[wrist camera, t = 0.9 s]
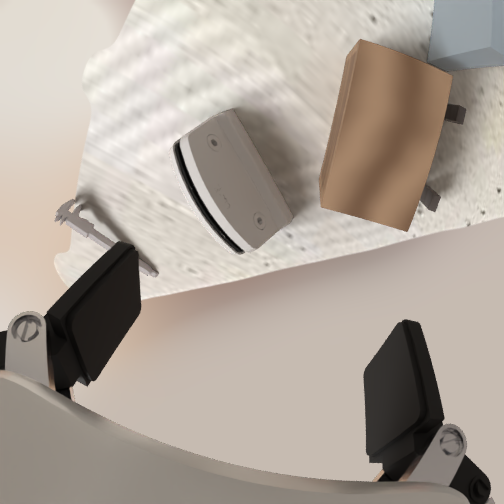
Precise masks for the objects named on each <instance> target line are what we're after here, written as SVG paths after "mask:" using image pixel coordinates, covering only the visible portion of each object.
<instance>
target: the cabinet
mask: <svg viewBox="0 0 504 504" xmlns="http://www.w3.org/2000/svg"><path fill="white" fill-rule="evenodd" d="M452 78H453V76H452V75H450V74H448V73H446V72H444V71H442V70H440V69H438V68H435V67H433V66H431V65H429V64H427V63H424V62H422V61H420V60H418V59H415V58H413V57H410V56H408V55H405V54H403V53H400V52H397V51H395V50H392V49H389V48H387V47H384V46H381V45H378V44H375V43H372V42H368V41H365V40H362V39H360V40H359V41H358V42H357V43H356V45H355V46H354V47H353V49H352V50H351V51H350V52H349V54H348V55H347V57H346V62H345V67H344V72H343V77H342V82H341V86H340V91H339V96H338V100H337V105H336V110H335V114H334V118H333V123H332V127H331V132H330V136H329V140H328V144H327V148H326V153H325V157H324V161H323V165H322V169H321V173H320V177H319V188H320V202H321V207H322V208H326V209H330V210H333V211H337V212H341V213H344V214H348V215H352V216H355V217H359V218H362V219H366V220H369V221H373V222H376V223H380V224H383V225H386V226H390V227H393V228H396V229H400V230H403V231H406V232H408V229H409V227H410V224H411V222H412V219H413V217H414V214H415V211H416V209H417V206H418V203H419V200H420V201H421V202H422V203H423V204H424V205H425V206H426V207H427V208H428V210H431V211H434V212H435V211H436V209H437V206H438V203H439V201H440V198H441V197H440V196H439V195H438V194H437V193H436V192H435V191H434V190H432V189H431V188H430V187H428V186H426V185H425V183H426V180H427V177H428V174H429V171H430V168H431V164H432V161H433V158H434V155H435V151H436V148H437V144H438V140H439V137H440V133H441V129H442V125H443V121H444V119H445V120H447V121H450V122H454V123H458V124H462V125H463V121H464V117H465V113H466V109H465V108H463V107H462V106H460V105H450V104H448V99H449V94H450V89H451V84H452Z"/></svg>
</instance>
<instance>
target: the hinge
mask: <svg viewBox="0 0 504 504" xmlns="http://www.w3.org/2000/svg"><path fill="white" fill-rule="evenodd" d="M169 157H170V161H171V165H172V168H173V171H174V174H175V176H176V179H177V181H178V184H179V186H180V188H181V190H182V193H183V195H184V197H185V198H186V200H187V202H188V204H189V206H190V207H191V209H192V211H193V212H194V214H195V215H196V217H197V218H198V220H199V221H200V222H201V224H202V225H203V226H204V228H205V229H206V230H207V231H208V232H209V234H210V235H211V236H212V237H213V238H214V239H215V240H216V241H217V242H218V243H219V244H220V245H221V246H222V247H223V248H225V249H226V250H227V251H228V252H229V253H231V254H243V253H245V252H252V251H254V250H256V249H258V248H259V247H260V246H262V245H263V244H264V243H265V242H266V241H267V240H268V239H270V238H271V237H272V236H273V235H274V234H275V233H276V232H277V231H279V230H280V229H282V228H283V227H285V226H286V225H288V224H289V223H290V222H291V220H292V219H293V218H294V217H293V215H292V213H291V211H290V209H289V207H288V206H287V204H286V202H285V200H284V198H283V196H282V194H281V192H280V191H279V189H278V187H277V185H276V183H275V181H274V180H273V178H272V176H271V174H270V172H269V171H268V169H267V167H266V165H265V163H264V162H263V160H262V158H261V156H260V154H259V153H258V151H257V149H256V147H255V146H254V144H253V142H252V140H251V139H250V137H249V135H248V134H247V132H246V130H245V128H244V127H243V125H242V123H241V122H240V120H239V118H238V116H237V115H236V113H235V111H234V110H233V109H230V110H228V111H225V112H222V113H220V114H217V115H215V116H212V117H210V118H209V119H207V120H206V121H204V122H203V123H201V124H200V125H198V126H197V127H196V128H194V129H193V130H191V131H190V132H188V133H187V134H185V135H184V136H183V137H182V138H180V139H179V140H177V141H176V142H175V143H174V144H173V146H172V147H171V148H170V150H169Z"/></svg>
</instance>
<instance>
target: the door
mask: <svg viewBox="0 0 504 504" xmlns="http://www.w3.org/2000/svg"><path fill="white" fill-rule="evenodd" d="M427 62H428V63H430V64H433V65H435V66H437V67H439V68H441V69H443V70H445V71H447V72H448V71H455V70H463V69H472V68H482V67H494V66H504V0H434V12H433V22H432V31H431V38H430V45H429V52H428V58H427Z"/></svg>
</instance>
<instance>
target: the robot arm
mask: <svg viewBox="0 0 504 504" xmlns="http://www.w3.org/2000/svg"><path fill="white" fill-rule="evenodd" d="M140 311H141V296H140V278H139V254H138V251H136V250H135V247H134V246H133V245H131V244H127V243H124V242H121V241H119V242H117V243H116V244H115V245H114V246H112V247H111V248H110V249H109V250H108V251H107V252H106V253H105V254H104V255H103V256H102V257H101V258H100V259H99V260H97V261H96V262H95V263H94V264H93V265H92V266H91V267H90V268H89V269H88V270H87V271H86V272H85V273H84V274H83V275H82V276H81V277H80V278H79V279H78V280H77V281H76V282H75V283H74V284H73V285H72V286H71V287H70V288H69V289H68V290H67V291H66V292H65V293H64V294H63V295H62V296H61V297H60V299H59V300H58V301H57V302H56V303H55V304H54V305H53V306H52V307H51V308H50V309H49V310H48V311H47V314H46V315H45V316H44V317H43V316H42V315H40V314H39V313H37V312H33V311H27V312H23V313H20V314H19V315H17V316H15V317H14V319H12V321H11V322H10V324H9V326H8V330H7V331H2V332H0V504H495V502H494V500H493V499H492V497H491V498H489V495H490V491H491V486H490V481H489V479H488V477H487V476H486V475H485V474H484V473H483V472H482V471H481V470H480V469H479V468H478V467H477V466H476V465H475V464H474V463H473V462H472V461H471V460H470V459H469V458H468V457H467V456H466V455H465V453H466V449H467V441H466V437H465V435H464V433H463V431H462V430H461V429H460V428H459V427H458V426H456V425H454V424H445V425H443V423H442V421H443V420H444V413H443V408H442V404H441V399H440V394H439V390H438V386H437V381H436V378H435V374H434V370H433V366H432V362H431V358H430V355H429V351H428V348H427V345H426V341H425V338H424V335H423V332H422V329H421V325H420V323H418V322H415V321H411V320H403V321H402V322H399V323H398V324H397V325H396V326H395V328H394V329H393V331H392V332H391V334H390V335H389V336H388V338H387V340H386V341H385V342H384V344H383V345H382V347H381V348H380V349H379V351H378V352H377V354H376V355H375V356H374V358H373V359H372V360H371V362H370V363H369V364H368V366H367V367H366V368H365V371H364V391H365V415H366V453H367V455H369V462H370V463H382V464H383V469H382V470H381V471H380V473H379V474H378V475H377V476H376V477H375V479H374V480H373V481H372V482H364V481H363V482H362V481H339V480H325V479H315V478H306V477H298V476H291V475H284V474H278V473H272V472H266V471H261V470H256V469H251V468H247V467H242V466H238V465H234V464H230V463H226V462H222V461H218V460H215V459H211V458H208V457H204V456H201V455H198V454H194V453H191V452H188V451H185V450H182V449H179V448H176V447H173V446H171V445H168V444H165V443H162V442H160V441H157V440H154V439H152V438H149V437H147V436H145V435H142V434H139V433H137V432H135V431H132V430H130V429H128V428H126V427H124V426H121V425H119V424H117V423H115V422H113V421H111V420H109V419H107V418H105V417H103V416H101V415H99V414H97V413H95V412H92V411H91V410H89V409H87V408H85V407H83V406H81V405H79V404H77V403H76V402H75V398H74V392H73V388H72V387H73V385H74V384H75V382H76V381H78V382H80V383H82V384H84V385H85V386H88V385H89V383H90V382H91V381H95V380H96V379H97V378H98V376H99V375H100V373H101V371H102V370H103V368H104V367H105V365H106V364H107V362H108V361H109V359H110V358H111V356H112V354H113V353H114V351H115V350H116V348H117V347H118V345H119V344H120V342H121V341H122V339H123V338H124V336H125V335H126V333H127V332H128V330H129V328H130V327H131V326H132V325H133V323H134V322H135V320H136V318H137V317H138V316H139V314H140ZM488 498H489V499H488Z"/></svg>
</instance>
